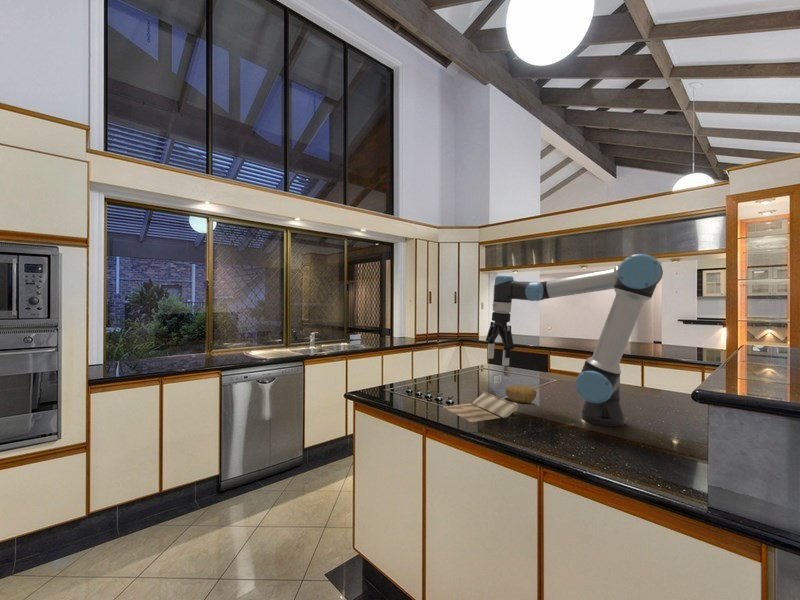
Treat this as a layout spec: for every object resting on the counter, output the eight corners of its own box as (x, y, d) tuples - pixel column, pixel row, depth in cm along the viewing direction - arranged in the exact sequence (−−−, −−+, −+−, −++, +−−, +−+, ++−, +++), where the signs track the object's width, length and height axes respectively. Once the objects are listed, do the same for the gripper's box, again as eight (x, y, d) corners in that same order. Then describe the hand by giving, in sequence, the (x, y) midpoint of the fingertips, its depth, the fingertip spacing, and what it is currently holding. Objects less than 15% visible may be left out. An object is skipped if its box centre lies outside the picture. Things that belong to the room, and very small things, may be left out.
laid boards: (501, 420, 144) (501, 417, 144) (470, 425, 139) (470, 422, 139) (469, 406, 165) (469, 403, 165) (442, 409, 160) (442, 406, 160)
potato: (510, 398, 178) (510, 381, 178) (539, 403, 169) (539, 386, 169) (501, 402, 170) (501, 385, 170) (532, 408, 161) (532, 390, 161)
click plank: (518, 407, 148) (516, 404, 147) (504, 419, 145) (503, 417, 145) (485, 394, 168) (484, 391, 168) (473, 405, 165) (471, 402, 165)
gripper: (480, 309, 168) (477, 355, 169) (508, 314, 143) (503, 368, 144) (495, 310, 169) (492, 355, 170) (525, 315, 145) (521, 369, 146)
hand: (497, 361), depth 157 cm, fingers open, 13 cm apart
